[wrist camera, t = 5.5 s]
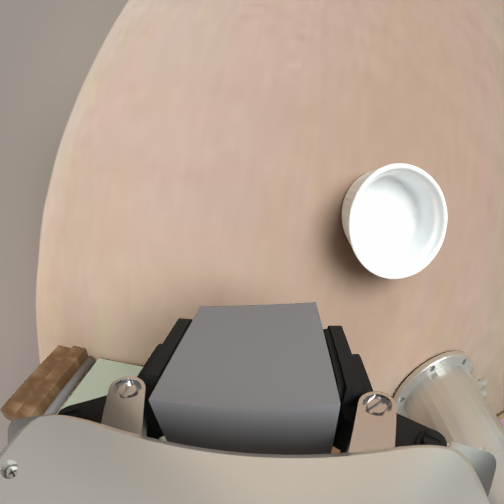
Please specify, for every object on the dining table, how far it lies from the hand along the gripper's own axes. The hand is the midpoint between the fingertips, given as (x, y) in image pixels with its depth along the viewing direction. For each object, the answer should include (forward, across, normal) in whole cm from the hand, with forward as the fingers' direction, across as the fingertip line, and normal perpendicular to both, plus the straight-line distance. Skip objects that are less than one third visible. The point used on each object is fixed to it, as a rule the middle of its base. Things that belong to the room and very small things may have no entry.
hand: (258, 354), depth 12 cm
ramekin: (+14, -10, -4) cm, 18 cm away
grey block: (+1, 0, +5) cm, 5 cm away
